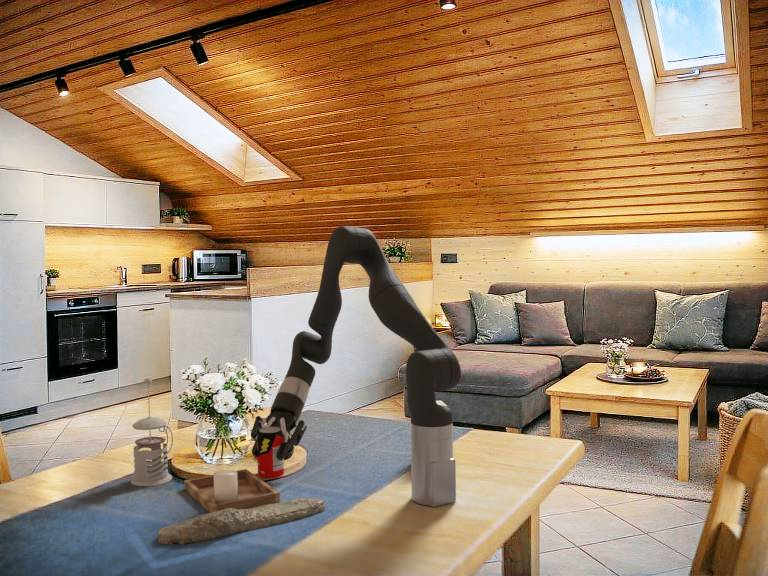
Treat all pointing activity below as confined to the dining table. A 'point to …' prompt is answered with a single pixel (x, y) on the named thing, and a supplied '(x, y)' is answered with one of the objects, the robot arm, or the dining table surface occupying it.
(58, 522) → the dining table surface
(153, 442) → the french press
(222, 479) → the frosted white cylinder
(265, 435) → the beverage can
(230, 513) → the long grey stone
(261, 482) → the tray
